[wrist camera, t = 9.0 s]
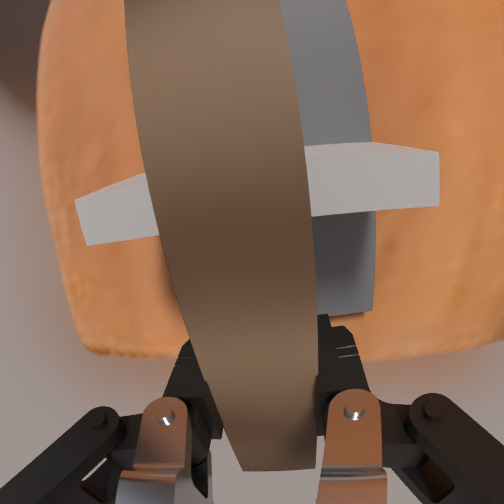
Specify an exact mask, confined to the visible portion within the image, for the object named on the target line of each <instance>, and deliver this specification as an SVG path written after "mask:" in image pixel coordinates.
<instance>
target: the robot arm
mask: <svg viewBox="0 0 504 504" xmlns="http://www.w3.org/2000/svg"><path fill="white" fill-rule="evenodd" d="M317 324H318V375H317V376H316V429H317V436H323V435H324V438H325V448H324V456H323V463H322V470H321V475H320V482H319V487H318V494H317V499H316V504H386V503H387V474H386V471H385V470H383V468H382V467H388V468H391V469H392V470H393V471H394V472H395V473H396V475H397V476H398V477H399V478H400V479H401V480H402V481H403V483H404V484H405V485H406V486H407V487H408V488H409V489H410V490H411V492H412V493H413V494H414V495H415V496H416V497H417V498H418V499H419V501H420V502H421V503H422V504H504V446H503V445H502V444H501V443H500V442H499V441H498V440H497V439H495V438H494V437H493V436H492V435H491V434H490V433H488V432H487V431H486V430H485V429H484V428H482V427H481V426H480V425H479V424H478V423H477V422H476V421H474V420H473V419H472V418H471V417H470V416H469V415H468V414H466V413H465V412H464V411H463V410H461V408H459V407H458V406H457V405H456V404H455V403H453V402H452V401H451V400H450V399H449V398H447V397H446V396H444V395H441V394H437V393H428V394H424V395H422V396H420V397H418V398H417V399H416V400H414V402H413V403H412V405H402V404H389V403H386V402H383V401H381V400H379V399H377V398H376V397H375V395H373V394H372V393H371V391H370V389H369V387H368V383H367V380H366V376H365V373H364V370H363V366H362V363H361V360H360V357H359V355H358V350H357V347H356V344H355V341H354V338H353V335H352V333H351V332H350V331H349V330H348V329H347V328H346V327H344V326H337V327H331V324H330V320H329V316H328V314H319V315H317ZM223 426H224V424H223V422H222V419H221V417H220V414H219V412H218V409H217V407H216V404H215V401H214V399H213V396H212V394H211V391H210V388H209V386H208V383H207V381H205V380H204V377H203V375H202V372H201V369H200V366H199V364H198V361H197V358H196V355H195V352H194V349H193V347H192V344H191V341H190V339H189V340H188V341H187V342H186V343H185V344H184V345H183V346H182V348H181V351H180V353H179V356H178V359H177V361H176V363H175V367H174V368H173V371H172V373H171V376H170V379H169V381H168V384H167V386H166V389H165V391H164V394H163V397H162V398H159V399H157V400H155V401H153V402H151V403H150V404H149V405H148V406H147V407H146V408H145V410H144V412H143V413H142V414H136V415H130V416H122V417H120V416H119V415H118V414H117V412H116V411H115V410H114V409H112V408H110V407H106V406H102V407H97V408H94V409H92V410H90V411H89V412H88V413H87V414H85V415H84V416H83V417H82V418H81V419H80V420H79V421H78V422H76V423H75V424H74V425H73V426H72V427H71V428H70V429H69V430H67V431H66V432H65V433H64V434H63V435H62V436H61V437H59V438H58V439H57V440H56V441H55V442H54V443H53V444H51V446H49V447H48V448H47V449H46V450H45V451H43V452H42V453H41V454H40V455H39V456H38V457H36V458H35V459H34V460H33V461H32V462H31V463H30V464H28V465H27V466H26V467H25V468H24V469H23V470H22V471H20V472H19V473H18V474H17V475H16V476H15V477H13V478H12V479H11V480H10V481H9V482H8V483H6V484H5V485H4V486H3V487H2V488H1V489H0V504H214V503H213V496H212V467H211V452H210V450H209V448H210V442H211V439H221V437H222V431H223ZM104 458H106V459H107V460H106V461H105V462H104V463H103V464H102V465H101V466H100V467H99V468H98V469H97V470H96V471H95V472H94V473H93V474H92V475H90V477H88V478H87V479H86V480H84V481H81V480H82V479H83V478H84V477H85V476H86V475H87V474H88V473H89V472H90V471H91V470H92V469H93V468H94V467H95V466H97V465H98V464H99V463H100V462H101V461H102V460H103V459H104Z"/></svg>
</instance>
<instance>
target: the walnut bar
mask: <svg viewBox="0 0 504 504" xmlns="http://www.w3.org/2000/svg"><path fill="white" fill-rule="evenodd" d="M124 6H125V26H126V40H127V52H128V62H129V72H130V80H131V88H132V96H133V103H134V110H135V117H136V123H137V130H138V136H139V141H140V147H141V153H142V158H143V163H144V168H145V173H146V178H147V183H148V188H149V192H150V197H151V202H152V206H153V210H154V215H155V219H156V223H157V227H158V231H159V235H160V239H161V243H162V247H163V251H164V255H165V258H166V262H167V266H168V269H169V273H170V276H171V280H172V283H173V287H174V290H175V293H176V297H177V300H178V303H179V307H180V310H181V313H182V316H183V319H184V322H185V326H186V329H187V332H188V335H189V338H190V341H191V344H192V347H193V349H194V352H195V355H196V358H197V361H198V364H199V366H200V369H201V372H202V375H203V377H204V380H205V381H207V383H208V386H209V388H210V391H211V394H212V396H213V399H214V401H215V404H216V407H217V409H218V412H219V414H220V417H221V419H222V422H223V424H224V426H223V428H224V430H225V432H226V435H227V437H228V439H229V442H230V444H231V446H232V449H233V450H234V453H235V455H236V457H237V459H238V461H239V464H240V466H241V468H242V470H243V471H286V470H302V469H313V468H315V464H316V444H317V429H316V376H317V375H318V324H317V296H316V275H315V258H314V243H313V230H312V217H311V206H310V195H309V185H308V176H307V167H306V158H305V150H304V142H303V134H302V126H301V119H300V112H299V105H298V99H297V92H296V86H295V80H294V74H293V68H292V62H291V57H290V51H289V46H288V41H287V36H286V31H285V26H284V21H283V16H282V12H281V7H280V3H279V0H124Z"/></svg>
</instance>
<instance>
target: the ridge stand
mask: <svg viewBox="0 0 504 504" xmlns="http://www.w3.org/2000/svg"><path fill="white" fill-rule="evenodd" d="M279 3H280V7H281V12H282V16H283V21H284V26H285V31H286V36H287V41H288V46H289V51H290V57H291V62H292V68H293V74H294V80H295V86H296V92H297V99H298V105H299V112H300V119H301V126H302V134H303V142H304V150H305V158H306V167H307V176H308V185H309V195H310V206H311V217H312V230H313V243H314V258H315V275H316V296H317V315H319V314H328V316H337V315H344V314H352V313H359V312H366V311H372V307H373V294H374V276H375V245H376V214H375V211H377V210H389V209H401V208H414V207H428V206H439V152H434V151H428V150H423V149H417V148H411V147H404V146H398V145H391V144H383V143H375V142H372V141H371V131H370V122H369V114H368V106H367V99H366V92H365V86H364V80H363V74H362V68H361V63H360V58H359V53H358V48H357V43H356V39H355V34H354V30H353V26H352V22H351V18H350V14H349V10H348V7H347V3H346V0H279ZM74 202H75V206H76V210H77V213H78V217H79V221H80V224H81V228H82V231H83V235H84V238H85V241H86V245H87V246H91V245H97V244H104V243H110V242H116V241H123V240H130V239H136V238H143V237H150V236H157V235H159V231H158V227H157V223H156V219H155V215H154V210H153V206H152V202H151V197H150V192H149V188H148V183H147V178H146V173H142V174H139V175H136V176H133V177H131V178H128V179H125V180H123V181H120V182H118V183H115V184H112V185H110V186H107V187H105V188H102V189H100V190H97V191H95V192H93V193H90V194H88V195H86V196H83V197H81V198H79V199H76V200H74Z"/></svg>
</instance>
